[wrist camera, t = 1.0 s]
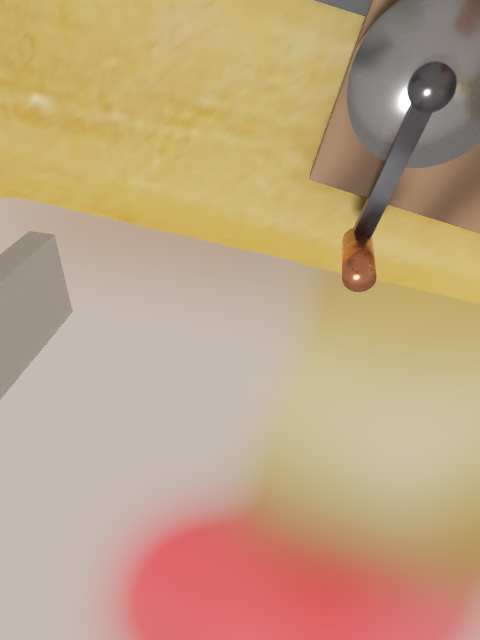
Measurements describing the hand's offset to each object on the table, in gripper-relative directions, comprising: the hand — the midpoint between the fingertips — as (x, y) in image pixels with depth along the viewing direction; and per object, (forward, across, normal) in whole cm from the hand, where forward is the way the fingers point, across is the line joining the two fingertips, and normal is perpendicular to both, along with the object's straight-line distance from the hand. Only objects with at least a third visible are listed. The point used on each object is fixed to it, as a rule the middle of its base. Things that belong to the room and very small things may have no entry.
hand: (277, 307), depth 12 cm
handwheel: (+20, +5, 0) cm, 20 cm away
